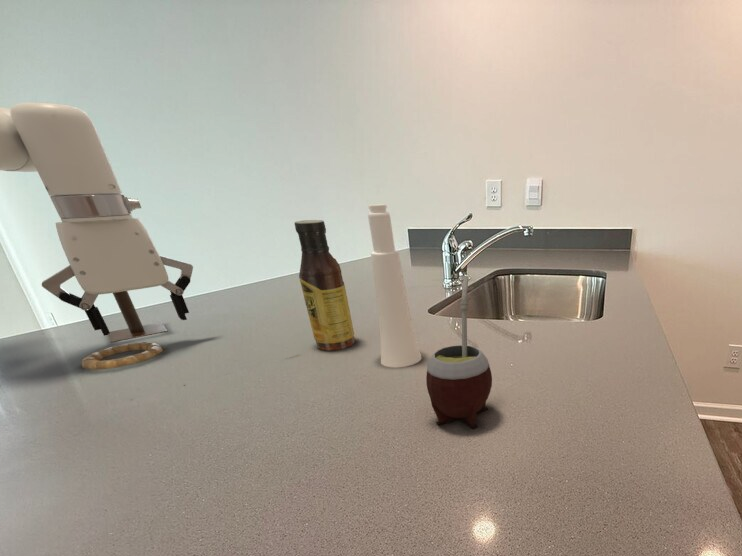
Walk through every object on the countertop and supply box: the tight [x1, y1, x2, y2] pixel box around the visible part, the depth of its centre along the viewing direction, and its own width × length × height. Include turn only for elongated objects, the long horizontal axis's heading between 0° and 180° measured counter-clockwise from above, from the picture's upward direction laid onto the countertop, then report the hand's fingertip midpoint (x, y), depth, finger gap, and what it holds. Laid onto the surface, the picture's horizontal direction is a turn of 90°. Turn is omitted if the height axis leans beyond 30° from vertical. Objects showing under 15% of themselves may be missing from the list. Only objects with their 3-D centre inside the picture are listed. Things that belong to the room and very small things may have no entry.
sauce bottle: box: [294, 219, 356, 352], centre depth 64 cm, size 6×6×20 cm
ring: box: [81, 341, 164, 371], centre depth 64 cm, size 10×10×2 cm
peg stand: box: [108, 291, 168, 344], centre depth 74 cm, size 8×8×10 cm
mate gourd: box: [425, 275, 493, 430], centre depth 44 cm, size 8×8×15 cm
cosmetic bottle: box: [367, 203, 422, 368], centre depth 57 cm, size 6×6×22 cm
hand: (146, 325), depth 65 cm, fingers open, 9 cm apart
